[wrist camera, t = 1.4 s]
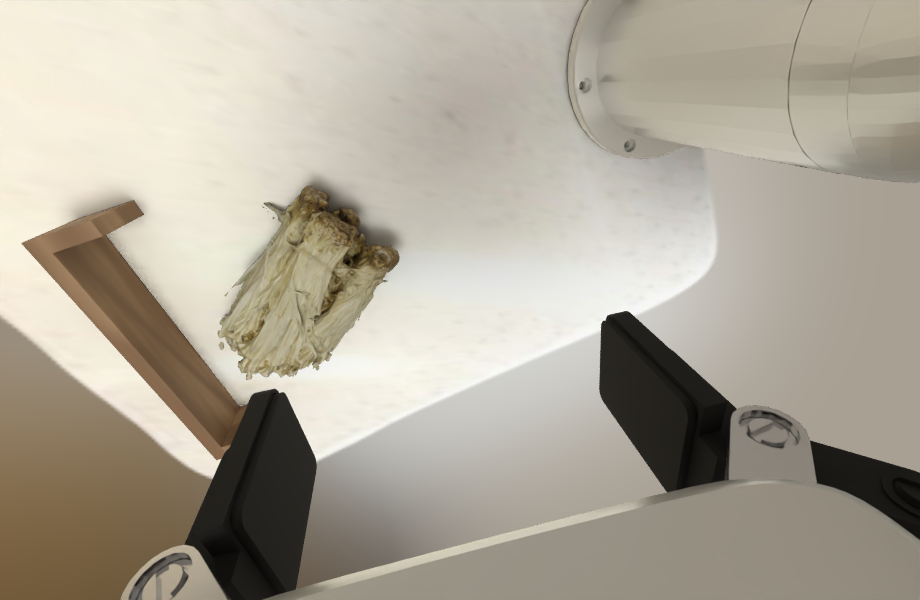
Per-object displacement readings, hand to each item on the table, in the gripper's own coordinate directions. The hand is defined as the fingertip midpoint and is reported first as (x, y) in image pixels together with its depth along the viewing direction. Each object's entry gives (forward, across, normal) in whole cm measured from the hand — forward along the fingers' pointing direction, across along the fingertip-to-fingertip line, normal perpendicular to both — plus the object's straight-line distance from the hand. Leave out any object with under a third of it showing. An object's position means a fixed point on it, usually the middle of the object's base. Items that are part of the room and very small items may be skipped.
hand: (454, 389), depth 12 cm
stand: (+20, +18, +6) cm, 28 cm away
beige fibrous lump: (+21, +8, +4) cm, 23 cm away
